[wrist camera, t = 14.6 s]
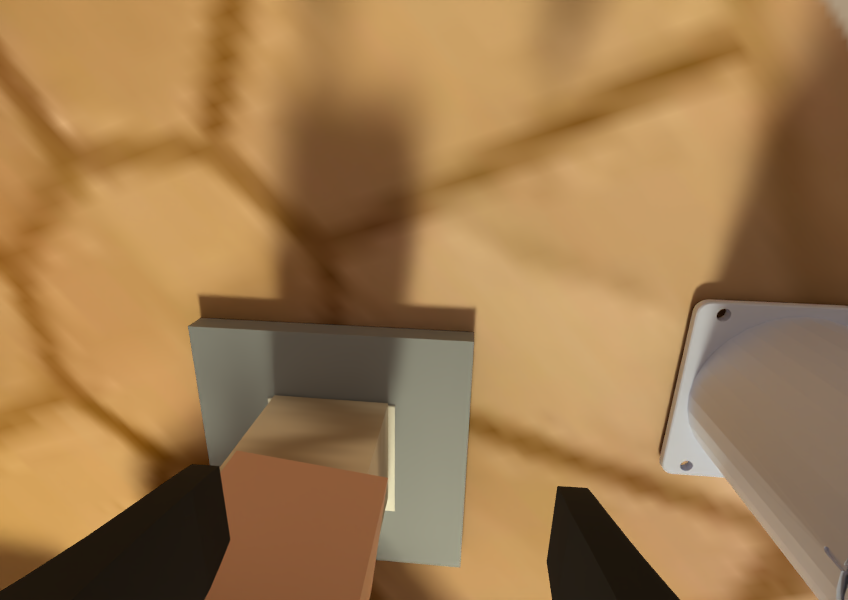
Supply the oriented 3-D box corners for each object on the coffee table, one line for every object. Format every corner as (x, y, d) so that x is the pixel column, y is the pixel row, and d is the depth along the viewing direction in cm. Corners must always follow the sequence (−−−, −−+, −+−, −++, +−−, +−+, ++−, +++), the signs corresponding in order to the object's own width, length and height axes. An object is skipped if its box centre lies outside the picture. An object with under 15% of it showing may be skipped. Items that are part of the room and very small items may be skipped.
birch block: (388, 403, 20) (363, 485, 15) (387, 497, 21) (366, 598, 17) (274, 395, 20) (215, 472, 15) (282, 488, 22) (231, 584, 17)
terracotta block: (387, 478, 15) (351, 633, 10) (371, 590, 17) (333, 769, 12) (236, 450, 15) (131, 591, 10) (235, 564, 17) (144, 731, 12)
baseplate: (473, 331, 20) (473, 342, 18) (460, 550, 23) (460, 569, 22) (200, 317, 20) (186, 327, 19) (231, 530, 24) (221, 547, 23)
